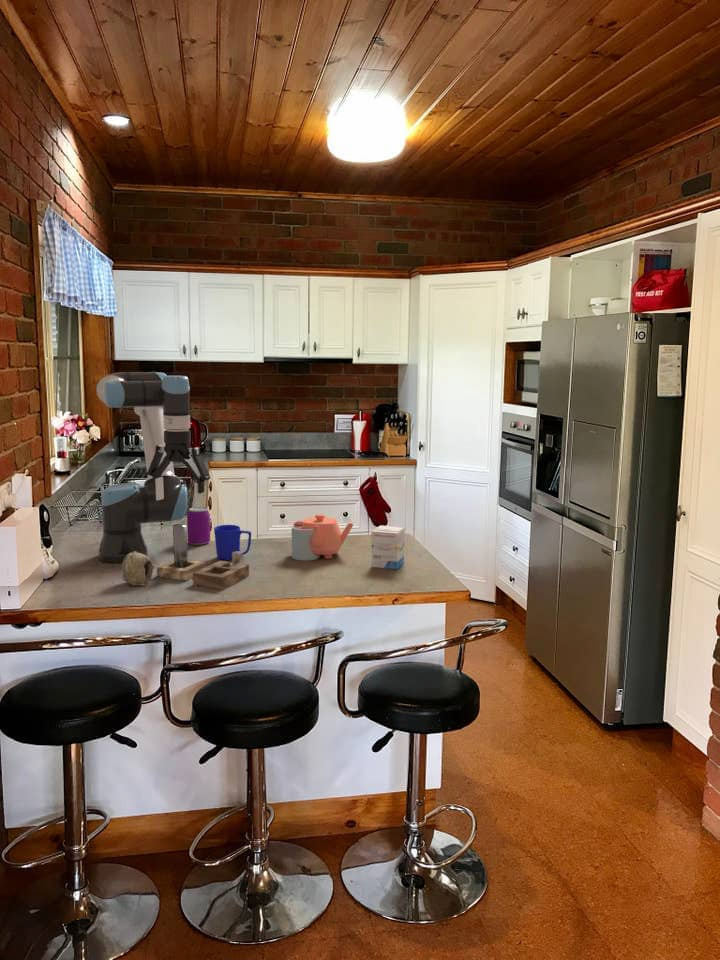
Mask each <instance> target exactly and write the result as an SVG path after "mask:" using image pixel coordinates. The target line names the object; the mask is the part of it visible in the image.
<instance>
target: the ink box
mask: <svg viewBox="0 0 720 960" xmlns="http://www.w3.org/2000/svg"><path fill="white" fill-rule="evenodd" d="M405 530H406V528H405V527H401V526H400V527H398V526H389V525H379V526H377V527H376V528H374V529H373V530H371V567H372V568H379V569H388V570H389V569H390V570H399V568H401V566H402V565H403V564H404V563H405V532H406V531H405Z"/></svg>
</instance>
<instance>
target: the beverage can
mask: <svg viewBox="0 0 720 960" xmlns="http://www.w3.org/2000/svg"><path fill="white" fill-rule="evenodd" d="M186 520H187V521H186V522H187V523H186V525H187V543H189V544H190V545H192V546H204V545H203V544H205V545H207V544H209V543H210V542H211V517H210V512H209V510H208V508H207V507H205V506H194V507H191V508H189V509H188V512H187V514H186ZM208 542H209V543H208ZM206 543H207V544H206Z"/></svg>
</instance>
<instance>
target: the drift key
mask: <svg viewBox="0 0 720 960" xmlns="http://www.w3.org/2000/svg"><path fill="white" fill-rule="evenodd" d="M240 551H241V550H240ZM240 551H235V552H233V553H232V564H230V566H229V568H230V567H232V566H234V565H236V564H238V563H241V564H245V563H244V559H245V557H244V555H245V554H243V552H244V551H241V552H240Z"/></svg>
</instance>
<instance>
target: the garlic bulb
mask: <svg viewBox="0 0 720 960" xmlns="http://www.w3.org/2000/svg"><path fill="white" fill-rule="evenodd" d="M154 569H155V565H154V564H153V562H152V560H151V558H150V557H149V556H148V555H147V556H146V555H144V554H141V553H138V552H135V551H134V552H133V553H129V554H128V555H127V556H126V557H125V558H124V560H123V563H121V572H122V576H121V580H122V581H123V582H126V583H128V584H130V585H131V586H146V585H147V584H148V583H149V582H150V580H151V579H152V576H153V571H154Z"/></svg>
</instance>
